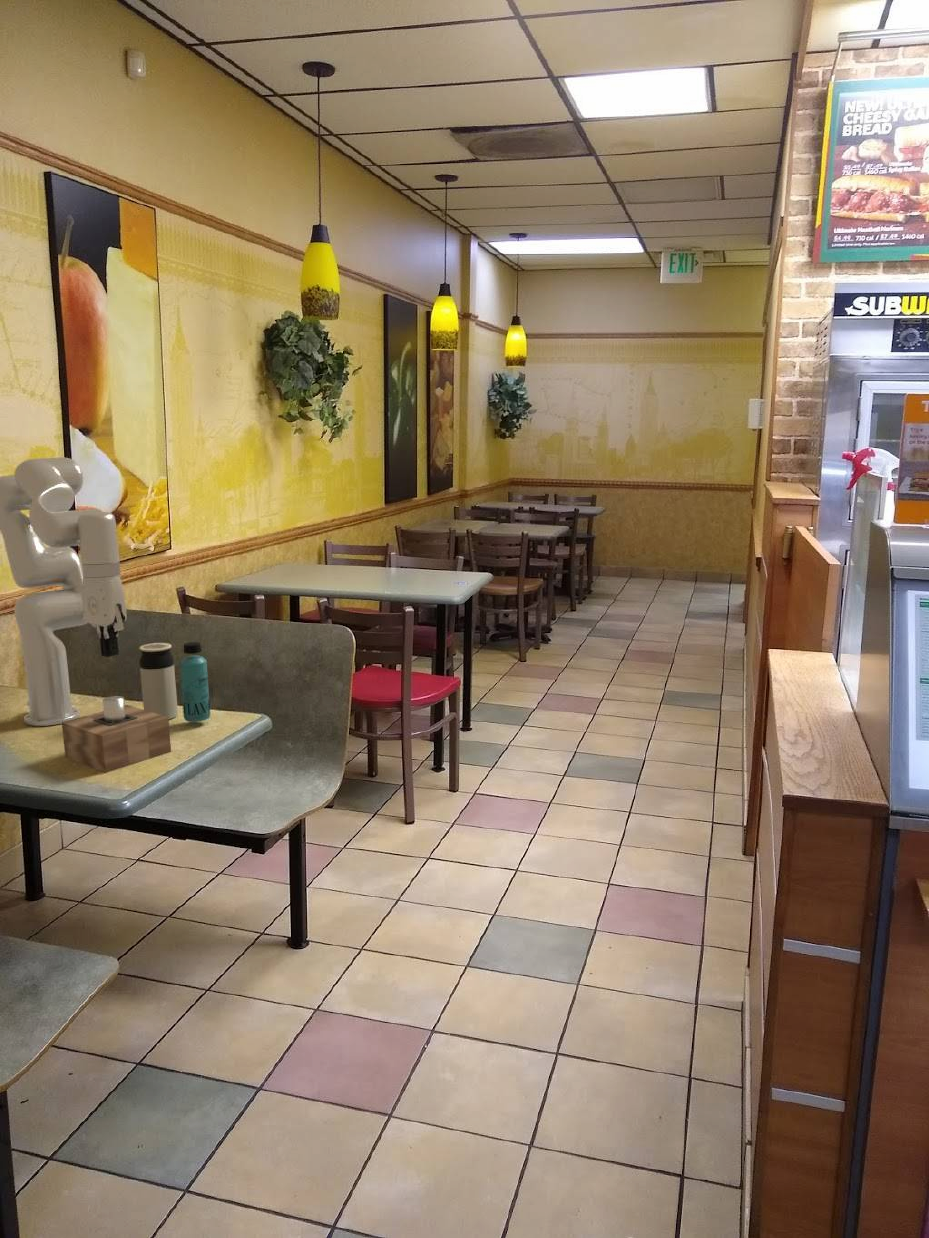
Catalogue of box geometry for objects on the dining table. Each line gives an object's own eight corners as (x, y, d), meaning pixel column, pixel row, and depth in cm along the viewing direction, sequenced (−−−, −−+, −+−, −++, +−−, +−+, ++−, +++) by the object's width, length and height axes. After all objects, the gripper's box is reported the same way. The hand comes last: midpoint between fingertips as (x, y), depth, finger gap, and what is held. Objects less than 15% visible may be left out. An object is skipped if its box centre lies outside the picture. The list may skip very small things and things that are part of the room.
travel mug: (168, 722, 239) (162, 650, 235) (138, 721, 240) (132, 649, 237) (183, 712, 246) (178, 643, 243) (154, 711, 248) (148, 642, 244)
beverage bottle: (179, 727, 235) (172, 646, 230) (190, 719, 241) (184, 639, 237) (205, 728, 234) (199, 646, 230) (215, 719, 240) (210, 640, 236)
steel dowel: (101, 733, 215) (98, 699, 214) (119, 728, 219) (116, 694, 217) (113, 737, 213) (109, 702, 211) (131, 731, 216) (128, 697, 214)
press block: (65, 757, 215) (61, 721, 214) (129, 737, 228) (126, 703, 226) (106, 772, 206) (102, 735, 204) (171, 751, 218) (168, 716, 216)
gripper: (66, 570, 210) (75, 654, 213) (105, 575, 201) (114, 663, 204) (98, 566, 216) (106, 648, 219) (137, 571, 206) (145, 656, 210)
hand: (110, 655), depth 212 cm, fingers closed
